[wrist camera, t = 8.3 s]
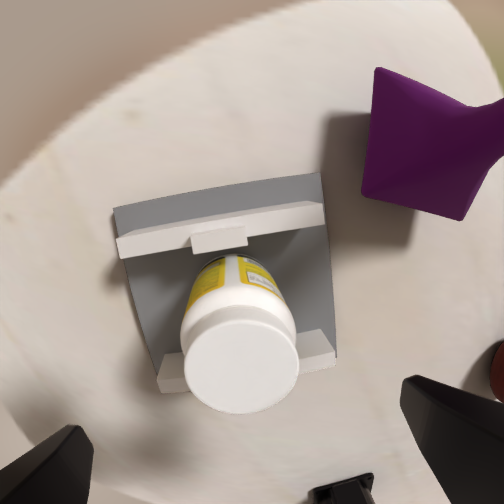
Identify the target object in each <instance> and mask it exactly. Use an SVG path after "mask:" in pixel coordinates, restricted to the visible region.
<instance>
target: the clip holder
mask: <svg viewBox="0 0 504 504" xmlns="http://www.w3.org/2000/svg"><path fill="white" fill-rule="evenodd" d="M113 211H114V217H115V222H116V227H117V232H118V237H119V238H117V239H116V242H117V247H118V251H119V256H120V259H124V264H125V268H126V272H127V276H128V280H129V284H130V288H131V292H132V295H133V299H134V303H135V306H136V310H137V314H138V317H139V320H140V324H141V327H142V330H143V334H144V337H145V340H146V343H147V346H148V349H149V353H150V356H151V359H152V362H153V364H154V367H155V370H156V373H157V379H156V381H157V384H158V387H159V389H160V392H161V394H166V393H178V392H188V391H191V390H190V388H189V387H188V384H187V382H186V379H185V375H184V358H185V356H184V354H183V351H182V347H181V340H180V332H181V325H182V321H183V318H184V314H185V311H186V307H187V304H188V301H189V297H190V294H191V291H192V287H193V284H194V281H195V279H196V276H197V274H198V273H199V271H200V270H201V269H202V267H203V266H204V265H205V264H207V263H208V262H209V261H211V260H212V259H214V258H216V257H219V256H222V255H226V254H243V255H247V256H250V257H253V258H254V259H256V260H258V261H259V262H261V263H262V264H263V265H264V266H265V267H266V268H267V269H268V271H269V272H270V274H271V276H272V277H273V279H274V281H275V283H276V285H277V287H278V289H279V291H280V293H281V294H282V296H283V298H284V301H285V302H286V304H287V306H288V308H289V310H290V312H291V314H292V316H293V319H294V322H295V327H296V345H295V347H296V350H297V353H298V357H299V373H298V374H303V373H308V372H312V371H317V370H321V369H325V368H329V367H333V366H336V364H335V358H337V350H336V328H335V311H334V296H333V283H332V271H331V260H330V250H329V240H328V231H327V222H326V214H325V206H324V198H323V190H322V183H321V176H320V173H311V174H303V175H295V176H288V177H280V178H273V179H266V180H259V181H253V182H246V183H240V184H234V185H227V186H221V187H216V188H210V189H204V190H199V191H193V192H188V193H182V194H177V195H172V196H167V197H162V198H157V199H152V200H148V201H143V202H138V203H134V204H129V205H124V206H120V207H116V208H113Z"/></svg>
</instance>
